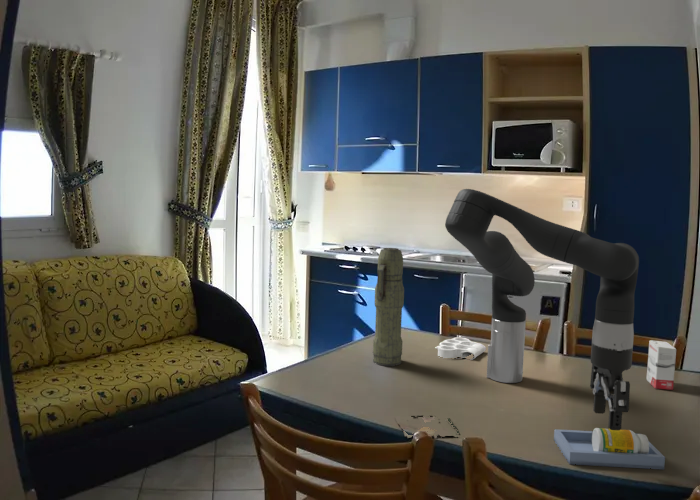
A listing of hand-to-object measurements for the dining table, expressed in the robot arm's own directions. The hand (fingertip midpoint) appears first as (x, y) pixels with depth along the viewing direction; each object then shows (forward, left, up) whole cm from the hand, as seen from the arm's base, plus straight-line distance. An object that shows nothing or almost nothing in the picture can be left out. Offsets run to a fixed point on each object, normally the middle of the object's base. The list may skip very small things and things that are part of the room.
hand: (606, 420), depth 119 cm
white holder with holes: (-53, +54, -8) cm, 76 cm away
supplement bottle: (-2, -3, -4) cm, 5 cm away
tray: (0, 0, -7) cm, 7 cm away
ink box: (+6, +57, -7) cm, 58 cm away
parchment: (-36, -8, -8) cm, 37 cm away
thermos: (-67, +31, -7) cm, 74 cm away
